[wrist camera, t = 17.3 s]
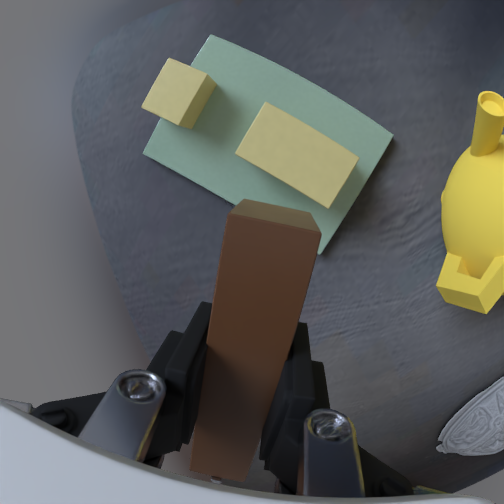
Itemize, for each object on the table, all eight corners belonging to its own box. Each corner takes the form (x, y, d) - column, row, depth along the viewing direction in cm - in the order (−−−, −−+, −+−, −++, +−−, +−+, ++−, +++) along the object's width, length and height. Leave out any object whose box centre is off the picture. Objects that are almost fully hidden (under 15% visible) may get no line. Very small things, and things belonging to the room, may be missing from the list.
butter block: (240, 154, 23) (234, 154, 20) (267, 108, 22) (265, 100, 19) (322, 203, 23) (328, 209, 20) (350, 157, 22) (360, 157, 19)
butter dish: (146, 153, 24) (142, 153, 23) (212, 37, 21) (210, 34, 20) (318, 252, 25) (320, 255, 24) (390, 135, 22) (394, 135, 21)
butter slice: (157, 112, 22) (140, 107, 19) (182, 68, 21) (168, 57, 18) (191, 129, 23) (178, 125, 20) (217, 84, 21) (208, 73, 18)
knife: (243, 198, 10) (226, 214, 7) (311, 212, 10) (323, 235, 7) (190, 512, 16) (180, 547, 13) (221, 519, 16) (214, 554, 13)
